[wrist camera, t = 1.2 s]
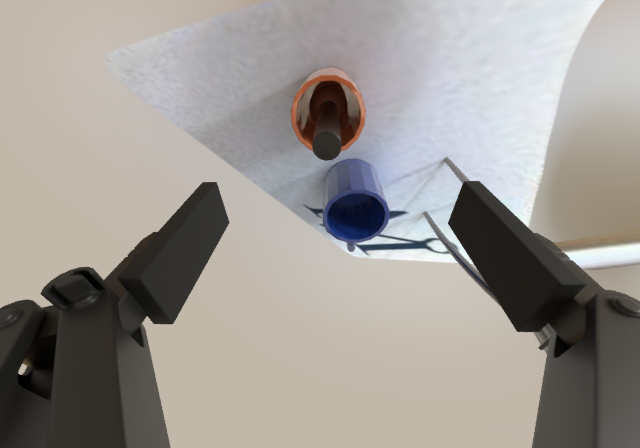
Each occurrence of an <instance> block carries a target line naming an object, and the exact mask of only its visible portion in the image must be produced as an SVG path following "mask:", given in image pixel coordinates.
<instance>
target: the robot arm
mask: <svg viewBox="0 0 640 448" xmlns="http://www.w3.org/2000/svg"><path fill="white" fill-rule="evenodd" d="M228 224H229V220H228V217H227V214H226V211H225V207H224V204H223V201H222V198H221V195H220V191H219V189H218V185H217V182H203V183H202V184H201V185H200V186H199V187H198V188H197V189H196V190H195V191H194V193H193V194H192V195H191V196H190V197H189V198H188V199H187V200H186V201H185V203H184V204H183V205H182V206H181V207H180V208H179V209H178V210H177V212H176V213H175V214H174V215H173V216H172V217H171V218H170V219H169V220H168V221H167V223H166V224H165V225H164V226H163V227H162V228H161V229H160V230H159V231H158V232H153V233H152V234H150V235H149V236H147V237H145V238H144V239H143V240H142V241H141V242H140V243H139V244H138V245H137V246H136V247H135V249H134V250H132V251H131V252H130V253H129V254H128V257H126V258H124V260H123V261H122V262H121V263H120V264H119V265H118V266H117V267H116V268H115V269H114V270H113V271H112V272H111V273H110V274H109V275H108V276H107V278H106V279H105V280H103V279H102V278H101V277H100V276H99V274H98V273H97V272H96V271H95V270H94V269H93V268H90V267H80V268H76V269H73V270H70V271H67V272H65V273H63V274H61V275H59V276H58V277H56V278H54V279H53V280H51V281H50V282H49V283H48V284H47V285H46V286H45V287H44V288H43V290H42V292H41V295H42V296H44V297H45V298H46V299H47V300H48V301H50V302H51V303H52V304H53V305H52V306H48V307H43V308H42V307H40V306H39V305H37V303H35V302H34V301H32V300H21V301H17V302H14V303H11V304H9V305H6V306H4V307H2V308H0V448H170V443H169V439H168V434H167V429H166V424H165V420H164V415H163V410H162V406H161V401H160V397H159V391H158V387H157V382H156V377H155V373H154V368H153V364H152V358H151V354H150V349H149V345H148V340H147V335H146V330H145V328H144V326H143V325H142V322H143V321H144V319H145V318H146V316H148V317H149V318H150V320H151V321H152V322H153V323H154V324H173V323H174V321H175V320H176V318H177V316H178V314H179V312H180V311H181V309H182V307H183V305H184V303H185V301H186V300H187V298H188V296H189V294H190V293H191V291H192V289H193V287H194V285H195V283H196V282H197V280H198V278H199V276H200V275H201V273H202V271H203V269H204V267H205V266H206V264H207V262H208V260H209V258H210V257H211V255H212V253H213V251H214V249H215V248H216V246H217V244H218V242H219V240H220V239H221V237H222V235H223V233H224V231H225V229H226V228H227V226H228ZM448 224H449V226H450V227H451V229H452V230H453V232H454V234H455V235H456V237H457V238H458V240H459V241H460V243H461V245H462V246H463V248H464V249H465V251H466V252H467V254H468V255H469V257H470V259H471V260H472V262H473V263H474V265H475V266H476V268H477V270H478V271H479V273H480V274H481V276H482V277H483V279H484V280H485V282H486V284H487V285H488V287H489V288H490V290H491V291H492V293H493V295H494V296H495V298H496V299H497V301H498V302H499V304H500V305H501V307H502V309H503V310H504V312H505V313H506V315H507V316H508V318H509V319H510V321H511V323H512V324H513V326H514V327H515V329H516V330H517V332H540V331H541V330H542V329H543V328H544V327H545V326H546V325H547V324H548V323H549V324H550V326H551V327H552V328H553V329H554V331H555V332H554V333H553V334H552V335H550V336H549V337H548V338H547V339H546V340H545V341H544V342H543V343H542V344H541V345H540V347H539V349H541V350H543V349H544V348H545V347H546V346H548V352H547V358H546V364H545V370H544V377H543V383H542V389H541V395H540V401H539V408H538V414H537V420H536V427H535V432H534V438H533V445H532V448H640V301H638V300H636V299H634V298H632V297H630V296H628V295H626V294H623V293H619V292H616V291H611V290H604V289H603V288H602V287H601V286H600V285H599V284H598V283H597V282H595V281H594V280H593V279H592V278H591V277H590V276H589V275H588V274H587V273H586V272H584V271H583V270H582V269H581V268H580V267H579V266H578V265H577V264H576V263H575V262H574V261H572V260H570V258H569V257H568V256H567V255H566V254H565V253H564V252H561V250H560V249H559V248H558V247H557V246H556V245H555V244H554V243H553V242H552V241H550V240H548V239H546V238H545V237H543V236H541V235H539V234H538V233H533V232H532V231H531V230H530V229H529V228H528V227H527V226H526V225H525V224H524V223H523V222H521V221H520V220H519V219H518V218H517V217H516V216H515V215H514V214H513V213H512V212H511V211H510V210H509V209H508V208H507V207H506V206H505V205H504V204H503V203H501V202H500V201H499V200H498V199H497V198H496V197H495V196H494V195H493V194H492V193H491V192H490V191H489V190H488V189H487V188H486V187H485V186H484V185H483V184H481V183H480V182H479V181H464V182H463V185H462V188H461V190H460V193H459V195H458V198H457V201H456V203H455V206H454V209H453V211H452V214H451V217H450V219H449V222H448ZM22 363H23V364H25V365H27V368H26V370H25V372H24V373H23V375H20V374H18V371H19V369H20V367H21V365H22Z"/></svg>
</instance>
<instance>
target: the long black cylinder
mask: <svg viewBox="0 0 640 448" xmlns="http://www.w3.org/2000/svg"><path fill="white" fill-rule="evenodd" d="M347 108H348V103H347V99H346V96H345V94H344V93H343V91H342V90H341V89H339V88H338V87H336V86H334V85H324V86H321V87H319V88H318V89H317V90H316V91H315V92H314V93H313V95H312V96H311V99H310V103H309V111H310V114H311V117H312V118H313V120H314V121H315V122H316V127H315V132H314V138H313V144H312V149H313V152H314V154H315V155H316V156H317V157H318V158H320V159H322V160H332V159H334V158H336V157H337V156H338V155H339V153H340V151H341V147H342V144H341V135H340V125H339V124H340V123H341V122H342V121H343V119H344V118H345V116H346V113H347Z"/></svg>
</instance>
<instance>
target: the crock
mask: <svg viewBox="0 0 640 448" xmlns="http://www.w3.org/2000/svg"><path fill="white" fill-rule="evenodd" d="M324 85H334V86H336V87H338V88H339V89H341V90H342V91H343V93H344V94H345V96H346V99H347V103H348V108H347V113H346V116H345V118H344V119H343V121H342V122H341V123H340V124H339V125H340V135H341V144H342V147H341V151H343V150H346V149H347V148H349V147H350V146H351V145H352V144H353V143H354V142H355V141H356V140H357V139H358V137H359V135H360V133H361V131H362V129H363V127H364V123H365V112H366V109H365V106H364V103H363V99H362V96H361V94H360V92H359V90H358V88H357V86H356V85H355V83H354V82H353V80H352V79H351V78H350V77H349V76H348V74H347V73H345V72H343V71H342V70H340V69H337V68H332V67H326V68H321V69H319V70H316V71H315V72H313V73H311V74H310V75H309V77H308V78H307V79H306V80H305V82H304V83H303V84H302V86H301V87H300V89H299V90H298V92H297V93H296V95H295V98H294V101H293V105H292V108H291V120H292V127H293V129H294V131H295V133H296V135H297V137H298V139H299V140H300V141H301V142H302V143H303V144H304V145H305V146H306V147H307V148H308V149H310V150H313V149H312V144H313V138H314V132H315V127H316V122H315V121H314V120H313V118H312V117H311V114H310V111H309V103H310V99H311V96H312V95H313V93H314V92H315V91H316V90H317V89H318V88H319V87H321V86H324Z"/></svg>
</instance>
